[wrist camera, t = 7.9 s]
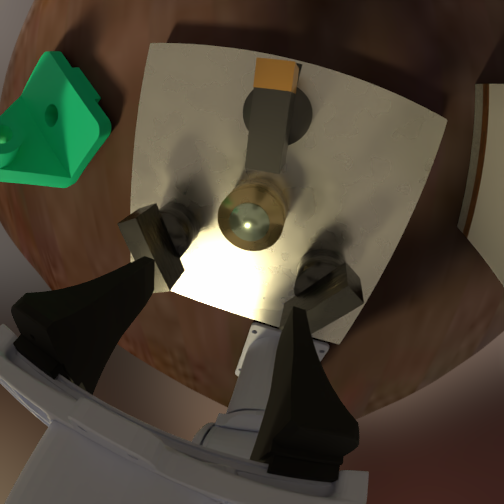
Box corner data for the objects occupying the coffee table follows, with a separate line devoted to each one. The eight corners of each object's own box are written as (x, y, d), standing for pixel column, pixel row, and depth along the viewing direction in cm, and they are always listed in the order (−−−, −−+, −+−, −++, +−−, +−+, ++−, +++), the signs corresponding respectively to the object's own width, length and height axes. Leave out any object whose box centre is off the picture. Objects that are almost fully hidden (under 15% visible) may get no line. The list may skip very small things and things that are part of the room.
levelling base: (339, 328, 25) (338, 390, 19) (141, 264, 27) (101, 307, 21) (436, 117, 15) (487, 129, 9) (164, 46, 16) (104, 34, 10)
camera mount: (123, 125, 20) (25, 156, 11) (82, 179, 24) (2, 223, 15) (66, 47, 17) (-21, 54, 8) (33, 102, 20) (-42, 125, 12)
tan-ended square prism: (306, 157, 16) (301, 178, 12) (248, 148, 17) (223, 165, 13) (318, 76, 14) (318, 65, 10) (257, 68, 14) (234, 56, 10)
